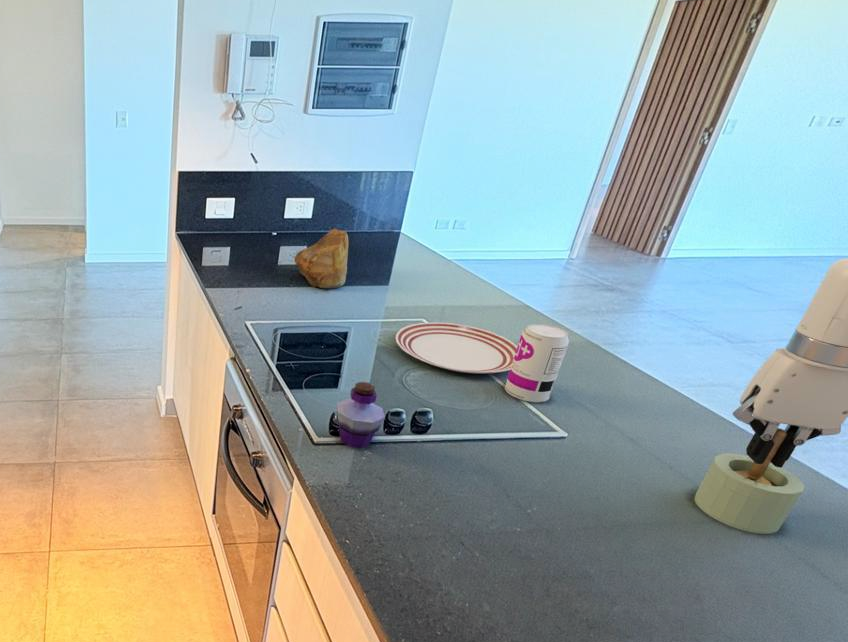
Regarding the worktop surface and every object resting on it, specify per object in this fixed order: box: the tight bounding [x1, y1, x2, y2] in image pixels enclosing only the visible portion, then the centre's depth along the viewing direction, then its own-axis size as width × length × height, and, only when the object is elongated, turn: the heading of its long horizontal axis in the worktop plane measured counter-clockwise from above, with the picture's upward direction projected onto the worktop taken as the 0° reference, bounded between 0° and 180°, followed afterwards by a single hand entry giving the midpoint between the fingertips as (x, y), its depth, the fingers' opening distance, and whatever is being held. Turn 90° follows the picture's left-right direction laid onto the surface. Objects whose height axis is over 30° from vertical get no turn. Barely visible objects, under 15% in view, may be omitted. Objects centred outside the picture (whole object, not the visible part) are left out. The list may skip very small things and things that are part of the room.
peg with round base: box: [735, 427, 787, 486], centre depth 92 cm, size 4×4×13 cm
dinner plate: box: [395, 321, 518, 375], centre depth 147 cm, size 27×27×3 cm
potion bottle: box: [336, 381, 386, 449], centre depth 112 cm, size 9×9×12 cm
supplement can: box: [504, 323, 570, 403], centre depth 127 cm, size 8×8×15 cm
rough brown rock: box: [294, 228, 349, 290], centre depth 195 cm, size 23×17×15 cm
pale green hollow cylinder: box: [694, 453, 805, 535], centre depth 95 cm, size 10×10×8 cm
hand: (763, 460), depth 92 cm, fingers closed on peg with round base, 1 cm apart
